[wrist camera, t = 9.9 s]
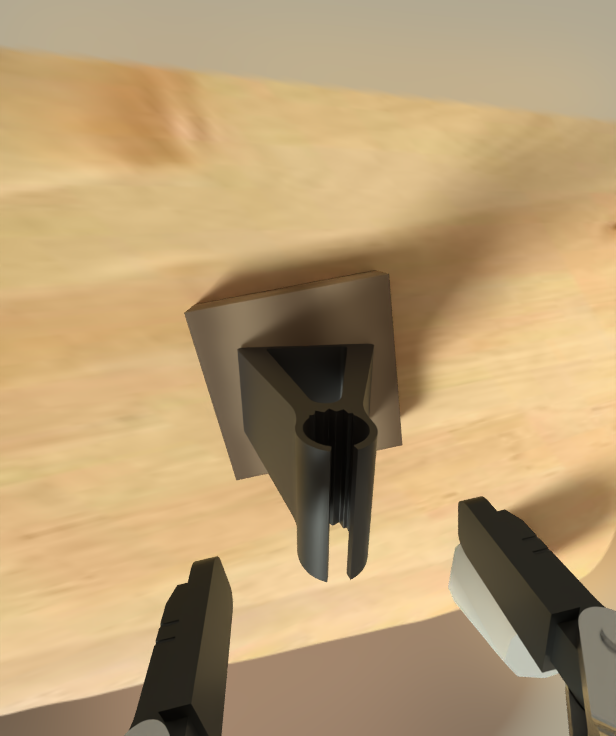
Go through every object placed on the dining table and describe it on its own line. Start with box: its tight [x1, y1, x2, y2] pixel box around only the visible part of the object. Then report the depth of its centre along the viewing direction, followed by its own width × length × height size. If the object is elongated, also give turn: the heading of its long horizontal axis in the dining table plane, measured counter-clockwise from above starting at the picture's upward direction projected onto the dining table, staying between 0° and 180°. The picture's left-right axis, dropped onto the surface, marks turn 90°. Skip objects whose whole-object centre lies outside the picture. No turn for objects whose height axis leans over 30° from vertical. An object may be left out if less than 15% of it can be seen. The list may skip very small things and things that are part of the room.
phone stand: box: [237, 343, 378, 582], centre depth 17 cm, size 9×6×12 cm, turn 89°
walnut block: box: [184, 271, 402, 480], centre depth 24 cm, size 13×13×3 cm
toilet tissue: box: [448, 537, 558, 678], centre depth 32 cm, size 9×13×9 cm
